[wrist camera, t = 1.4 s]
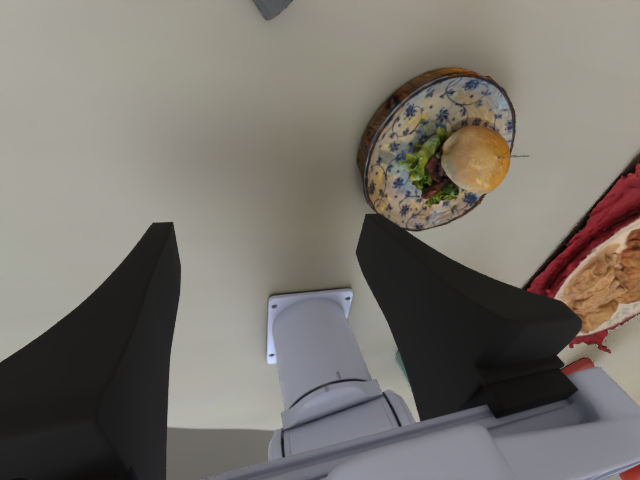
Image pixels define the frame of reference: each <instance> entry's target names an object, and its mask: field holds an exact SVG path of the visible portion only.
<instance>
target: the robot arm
mask: <svg viewBox="0 0 640 480" xmlns="http://www.w3.org/2000/svg"><path fill="white" fill-rule="evenodd" d="M356 255H357V259H358V262H359V265H360V267H361V270H362V273H363V275H364V277H365V279H366V281H367V283H368V285H369V287H370V289H371V291H372V293H373V295H374V297H375V299H376V300H377V302H378V304H379V306H380V308H381V310H382V312H383V314H384V316H385V318H386V320H387V322H388V324H389V327H390V329H391V332H392V334H393V337H394V340H395V342H396V345H397V347H398V350H399V353H400V356H401V359H402V362H403V364H404V367H405V370H406V373H407V377H408V380H409V383H410V386H411V389H412V393H413V396H414V400H415V403H416V407H417V410H418V414H419V418H420V421H421V422H417V423H416V422H415V420H414V418H413V416H412V414H411V412H410V410H409V408H408V406H407V405H406V403H405V401H404V400H403V399H402V398H401V397H400V396H399V395H397V394H395V393H394V392H393V391H391V390H386V391H384V392H382V391H381V389H380V386H379V384H378V382H377V380H376V379H374V380H372V378H371V376H370V373H369V371H368V369H367V366H366V364H365V361H364V359H363V357H362V354H361V352H360V349H359V347H358V345H357V342H356V340H355V337H354V335H353V333H352V330H351V328H350V325H349V323H348V321H347V319H348V315H349V310H350V306H351V302H352V298H353V291H352V289H349V288H348V289H337V290H327V291H317V292H306V293H296V294H286V295H276V296H271V297H270V298H269V300H268V325H267V354H266V360H267V363H268V364H274V363H277V367H278V373H279V379H280V385H281V391H282V397H283V403H284V409H285V411H284V412H282V413H281V417H282V423H283V428H281V429H277V430H276V431H275V432H274V435H273V438H272V440H271V442H270V445H269V453H268V454H269V461H267V462H264V463H260V464H256V465H252V466H248V467H244V468H241V469H237V470H233V471H229V472H225V473H222V474H217V475H214V476H210V477H206V478H202V479H199V480H606V479H608V478H610V477H613V476H616V475H618V474H620V473H622V472H624V471H626V470H628V469H630V468H632V467H634V466H636V465H638V464H640V407H639V406H638V405H637V404H636V403H635V402H634V401H633V400H632V399H631V398H630V397H629V396H628V394H627V393H626V392H625V391H624V390H623V389H622V388H621V387H620V386H619V385H618V384H617V383H616V382H615V381H614V380H613V379H612V378H611V377H610V376H609V375H608V374H607V373H606V372H605V371H604V370H603V369H602V368H601V367H593V368H589V369H585V370H581V371H577V372H574V373H572V374H570V375H568V376H566V375H565V374H564V373H563V372H562V371H561V370H560V369H559V368H562V367H563V366H564V363H563V362H562V361H561V360H560V359H559V357H558V356H557V354H558V353H559V352H560V351H562V350H563V349H564V348H565V347H566V346H567V345H568V344H569V343H570V342H571V341H572V340H573V339H574V338H575V337H576V336H577V334H578V333H579V332H580V330H581V328H582V319H581V318H580V317H579V316H578V315H577V314H576V313H575V312H574V311H573V310H571V309H570V308H569V307H568V306H567V305H566V304H565V303H564V302H562V301H560V300H557V299H553V298H550V297H546V296H543V295H539V294H536V293H532V292H529V291H526V290H523V289H520V288H517V287H514V286H511V285H508V284H506V283H503V282H500V281H498V280H495V279H493V278H490V277H488V276H486V275H483V274H481V273H479V272H476V271H474V270H472V269H470V268H468V267H466V266H464V265H462V264H460V263H458V262H456V261H454V260H452V259H450V258H448V257H447V256H445V255H443V254H441V253H440V252H438V251H436V250H435V249H433V248H431V247H430V246H428V245H427V244H425V243H424V242H422V241H420V240H419V239H417V238H416V237H414V236H413V235H411V234H410V233H409V232H407V231H406V230H404V229H403V228H401V227H400V226H398V225H397V224H395V223H394V222H392V221H391V220H389V219H388V218H386V217H385V216H383V215H381V214H366V215H365V219H364V223H363V226H362V230H361V234H360V238H359V241H358V245H357V249H356ZM180 282H181V264H180V259H179V253H178V247H177V242H176V236H175V230H174V225H173V222H162V223H153V224H152V225H151V226H150V227H149V228H148V230H147V231H146V232H145V234H144V235H143V237H142V238H141V239H140V241H139V242H138V243H137V244H136V246H135V247H134V248H133V250H132V251H131V252H130V253H129V254H128V256H127V257H126V258H125V259H124V260H123V262H122V263H121V264H120V265H119V266H118V267H117V268H116V270H115V271H114V272H113V273H112V274H111V275H110V276H109V277H108V278H107V279H106V280H105V281H104V282H103V283H102V284H101V285H100V286H99V287H98V288H97V289H96V290H95V291H94V292H93V293H92V294H91V295H90V296H89V297H88V298H87V299H86V300H85V301H83V302H82V303H81V304H80V305H79V306H78V307H77V308H75V309H74V310H73V311H72V312H71V313H69V314H68V315H67V316H65V317H64V318H63V319H62V320H60V321H59V322H58V323H56V324H55V325H54V326H53V327H51V328H50V329H49V330H47V331H46V332H45V333H43V334H42V335H41V336H39V337H38V338H36V339H35V340H33V341H32V342H30V343H29V344H28V345H26V346H25V347H23V348H22V349H20V350H19V351H17V352H16V353H14V354H13V355H11V356H10V357H8V358H7V359H5V360H3V361H2V362H0V480H166V443H167V442H166V441H167V410H168V386H169V366H170V354H171V346H172V340H173V333H174V327H175V321H176V315H177V309H178V302H179V296H180ZM346 297H347V298H346ZM274 304H276V305H274Z"/></svg>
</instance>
